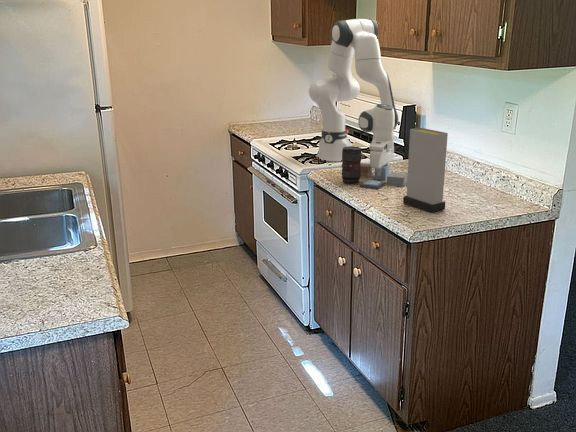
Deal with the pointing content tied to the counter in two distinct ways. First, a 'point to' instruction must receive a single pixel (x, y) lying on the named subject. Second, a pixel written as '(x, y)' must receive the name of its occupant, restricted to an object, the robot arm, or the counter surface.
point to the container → (426, 169)
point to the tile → (372, 184)
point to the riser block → (397, 179)
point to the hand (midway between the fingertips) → (381, 174)
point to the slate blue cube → (383, 173)
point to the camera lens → (351, 164)
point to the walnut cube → (365, 170)
